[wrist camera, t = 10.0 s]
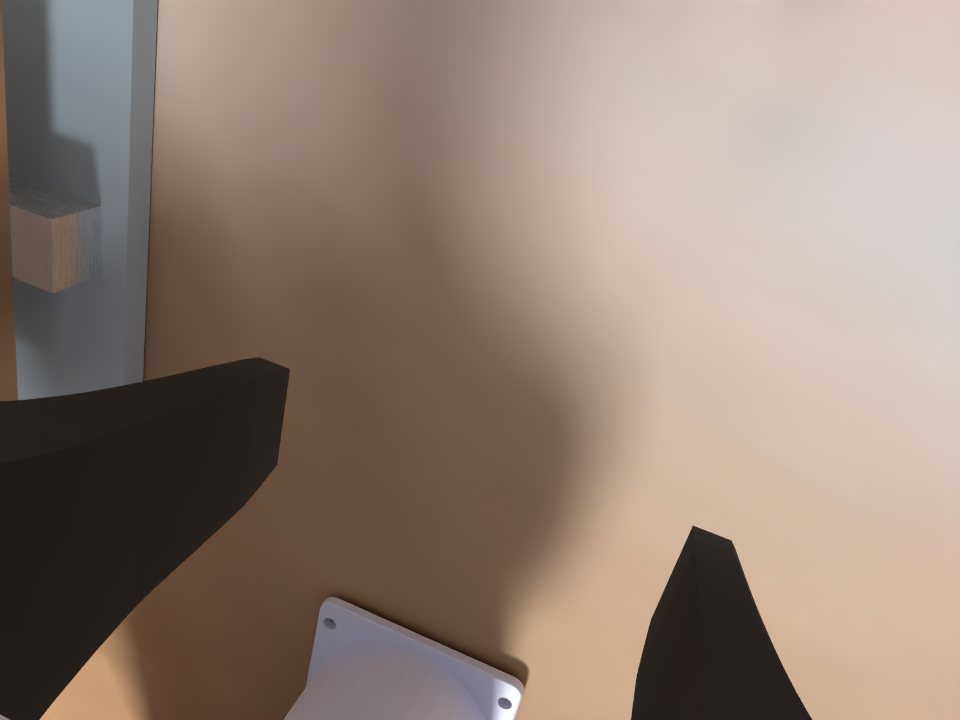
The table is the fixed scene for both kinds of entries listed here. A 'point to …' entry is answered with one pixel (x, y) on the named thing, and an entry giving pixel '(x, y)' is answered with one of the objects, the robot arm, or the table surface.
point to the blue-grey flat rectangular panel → (84, 180)
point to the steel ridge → (53, 236)
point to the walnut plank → (6, 258)
